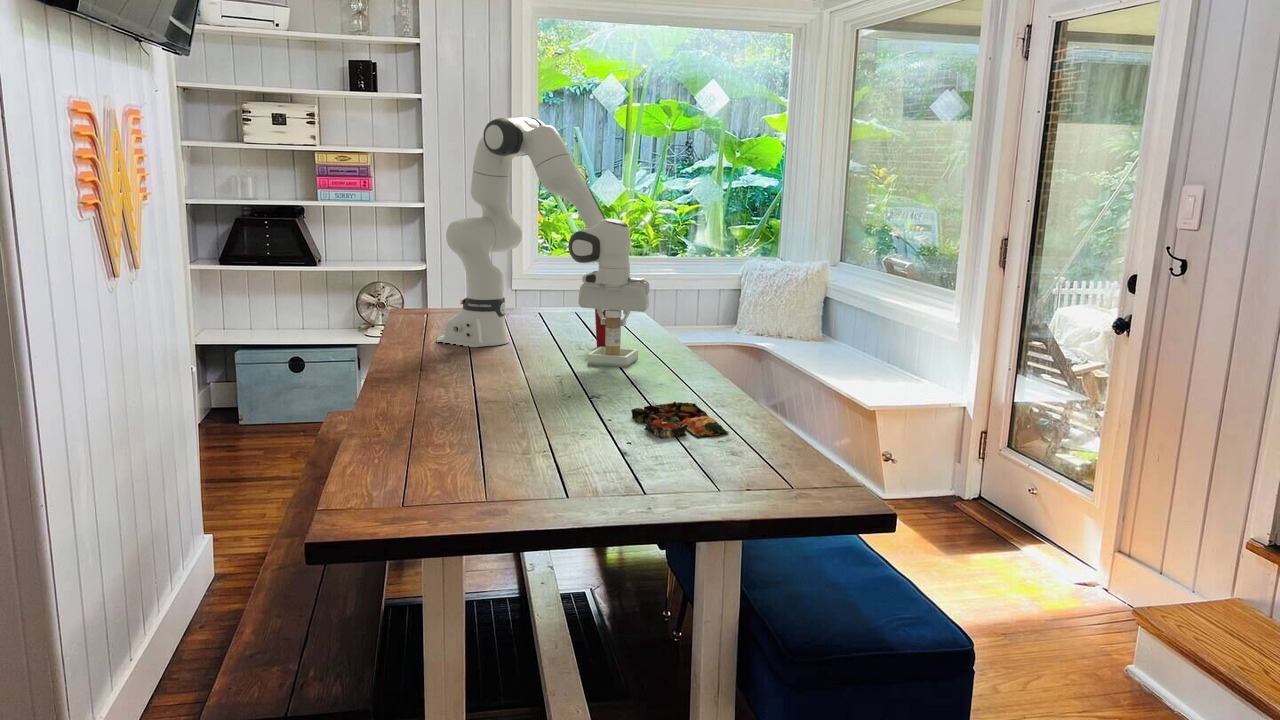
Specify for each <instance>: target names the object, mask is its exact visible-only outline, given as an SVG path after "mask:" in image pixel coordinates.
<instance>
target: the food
mask: <svg viewBox="0 0 1280 720" xmlns="http://www.w3.org/2000/svg"><path fill="white" fill-rule="evenodd" d="M630 412H631V414H632V416H631V419H633V420H634V422H635V423H637V424H644V425H645V426H644V427H645V428H644V430H648V432H650V434H652V435H653V436H654V437H657V438H658V439H661V440H665V439H666V440H667V439H674V438H680V437H682V438H683V437H686V436H687V433H686V431H687V432H688V433H690V435H692V436H693V437H695V438H697V439H699V438H707V437H716V436H718V437H719V436H720V434H725V433H726V434H730V431H727V430H726V429H725V428H724V427H723V426H722V425H721V424H720V423H718V421H717V420H715V418H713V417H710V416H709V415H708V414H707V412H706V411H705V410H703V409H702V408H700V407H699V406H698V405H697V404H696V403H692V402H682V401H680V402H676V401H673V402H671V403H662V404H654V405H646V406H643V408H642V407H640V408H639V407H635V408H633V409H631V411H630Z"/></svg>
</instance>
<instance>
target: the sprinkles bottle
mask: <svg viewBox="0 0 1280 720" xmlns="http://www.w3.org/2000/svg"><path fill="white" fill-rule="evenodd" d="M605 317H606V332H605V345H606V346H605V355H612V356H620V348H621V343H622V342H621V339H622V338H621V334H622V333H621V332H622V328H621V327H622V326H620V325H619V324H620V322H619V321H620V320H621V319H622V310H606V312H605Z"/></svg>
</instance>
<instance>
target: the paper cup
mask: <svg viewBox="0 0 1280 720" xmlns="http://www.w3.org/2000/svg"><path fill="white" fill-rule="evenodd" d="M606 310H609V309H604V312H602V313H603V315H604V317H605V312H606ZM594 314H595V315H594V319H595V320H594V321H595V338H596V339H595V340H596V349H597V348H599V347H605V346H606V345H605V332H606V325H602V324H601V319H600V317H599V315H598V313H597V309H595V308H594ZM605 318H606V317H605Z"/></svg>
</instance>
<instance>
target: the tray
mask: <svg viewBox="0 0 1280 720" xmlns="http://www.w3.org/2000/svg"><path fill="white" fill-rule="evenodd" d="M638 360H639V349H637V348H625V347H624V348H623V347H620V356H612V355H605V347H599V348H597V347H596V348H595V349H593V350H592V351H591V352H589V353H587V365H591V366H602V367H613V368H628V367H630V366H631V365H632V364H633V363H635V362H637V361H638Z"/></svg>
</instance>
